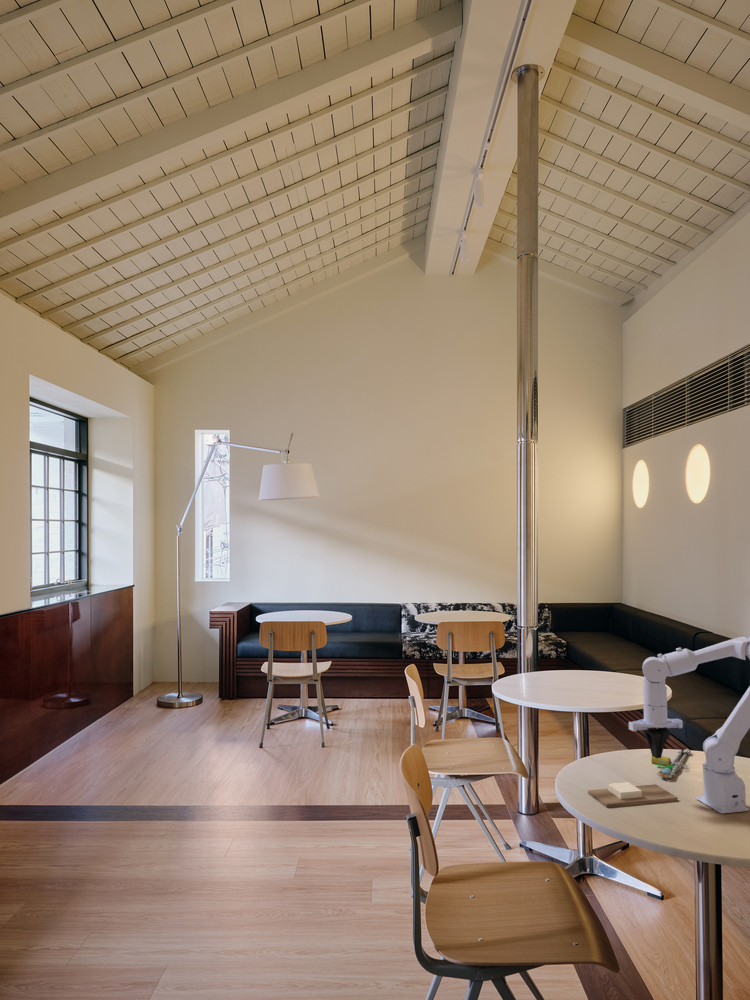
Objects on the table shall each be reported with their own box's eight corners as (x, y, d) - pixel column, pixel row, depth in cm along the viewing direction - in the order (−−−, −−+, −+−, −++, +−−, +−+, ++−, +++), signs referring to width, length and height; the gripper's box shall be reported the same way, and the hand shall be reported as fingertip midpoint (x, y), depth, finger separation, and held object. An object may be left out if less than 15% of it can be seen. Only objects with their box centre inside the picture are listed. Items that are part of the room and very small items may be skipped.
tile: (641, 790, 168) (620, 792, 167) (641, 797, 168) (620, 799, 167) (628, 782, 174) (607, 783, 173) (628, 788, 174) (607, 790, 173)
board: (677, 800, 168) (677, 797, 168) (606, 807, 164) (606, 804, 164) (656, 787, 177) (656, 784, 177) (588, 793, 173) (588, 790, 173)
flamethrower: (641, 775, 185) (679, 785, 179) (641, 766, 185) (680, 775, 179) (662, 749, 209) (696, 757, 203) (662, 741, 209) (697, 748, 203)
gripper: (670, 699, 178) (671, 750, 177) (621, 701, 175) (622, 753, 174) (687, 705, 171) (688, 758, 170) (637, 708, 168) (638, 762, 167)
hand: (656, 756), depth 172 cm, fingers closed
